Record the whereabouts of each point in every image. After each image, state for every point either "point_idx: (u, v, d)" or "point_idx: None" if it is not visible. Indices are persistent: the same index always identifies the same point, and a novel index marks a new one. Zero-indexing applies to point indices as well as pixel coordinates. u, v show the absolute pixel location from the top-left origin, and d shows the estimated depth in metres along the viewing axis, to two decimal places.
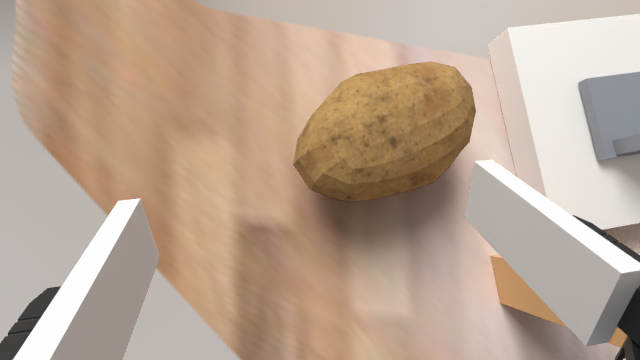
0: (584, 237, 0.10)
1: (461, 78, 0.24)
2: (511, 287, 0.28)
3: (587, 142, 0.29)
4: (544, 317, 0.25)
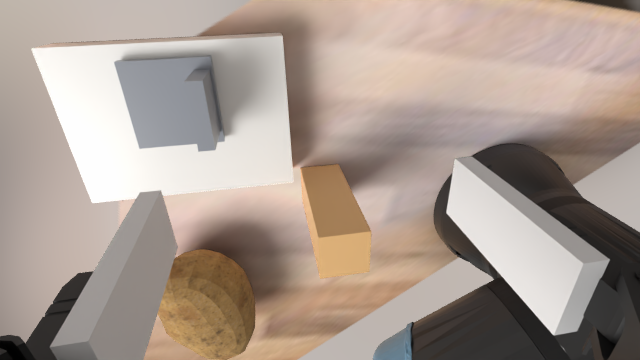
0: (552, 230, 0.10)
1: (166, 293, 0.32)
2: None
3: None
4: None
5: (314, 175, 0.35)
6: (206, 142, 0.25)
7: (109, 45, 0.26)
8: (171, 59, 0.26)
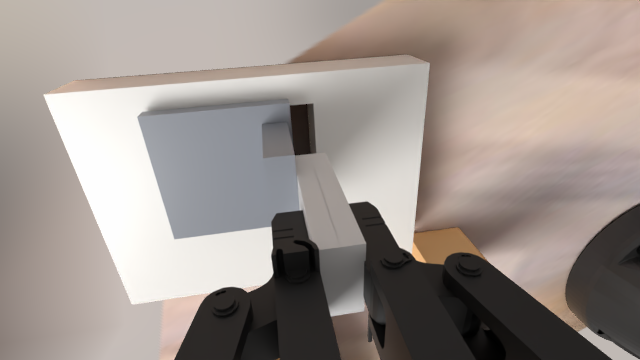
0: (339, 218, 0.11)
1: None
2: None
3: None
4: None
5: (433, 248, 0.25)
6: None
7: (167, 85, 0.16)
8: (228, 109, 0.16)
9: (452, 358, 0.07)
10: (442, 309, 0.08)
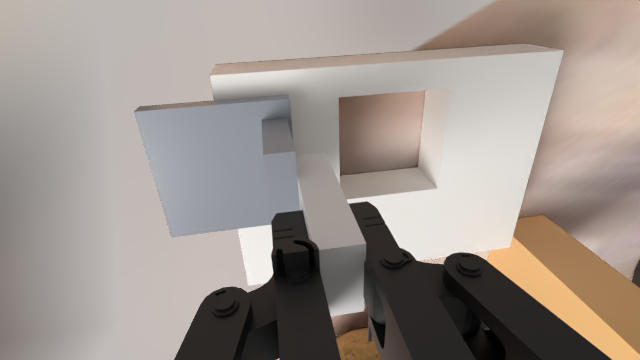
0: (339, 218, 0.11)
1: None
2: None
3: (416, 201, 0.21)
4: None
5: (527, 234, 0.26)
6: None
7: (323, 68, 0.17)
8: (227, 104, 0.16)
9: (452, 358, 0.07)
10: (443, 309, 0.08)
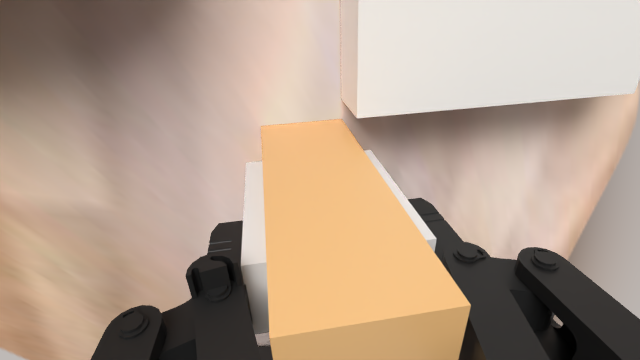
0: None
1: None
2: None
3: None
4: None
5: None
6: None
7: None
8: None
9: (524, 354, 0.07)
10: (516, 307, 0.08)
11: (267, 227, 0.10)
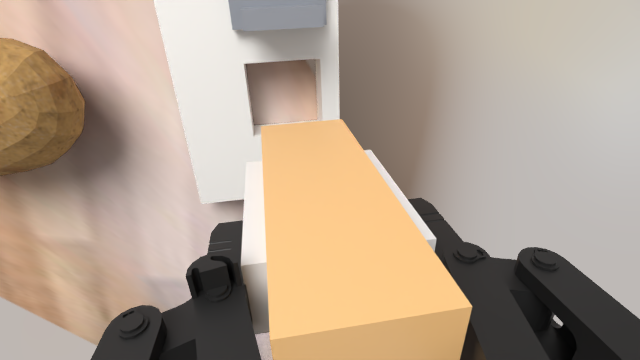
0: None
1: (21, 82, 0.21)
2: None
3: (242, 123, 0.29)
4: None
5: None
6: (253, 21, 0.21)
7: (337, 47, 0.28)
8: None
9: (524, 354, 0.07)
10: (516, 307, 0.08)
11: (267, 228, 0.10)
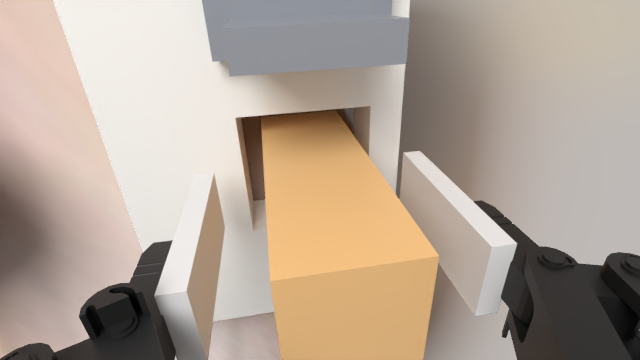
0: (473, 218, 0.11)
1: None
2: None
3: (234, 212, 0.17)
4: None
5: None
6: (251, 54, 0.09)
7: (402, 87, 0.16)
8: None
9: None
10: (605, 319, 0.08)
11: (267, 199, 0.11)
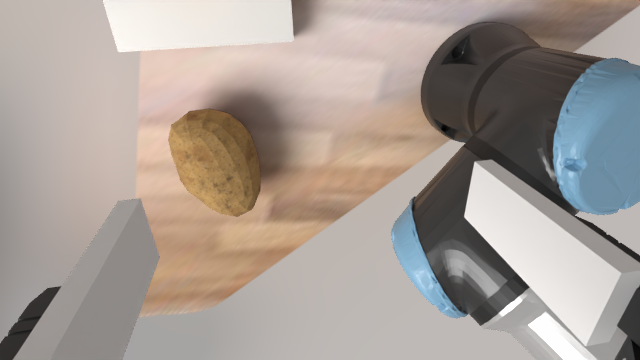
0: (584, 237, 0.10)
1: (183, 133, 0.36)
2: None
3: None
4: None
5: None
6: None
7: None
8: None
9: None
10: None
11: None
